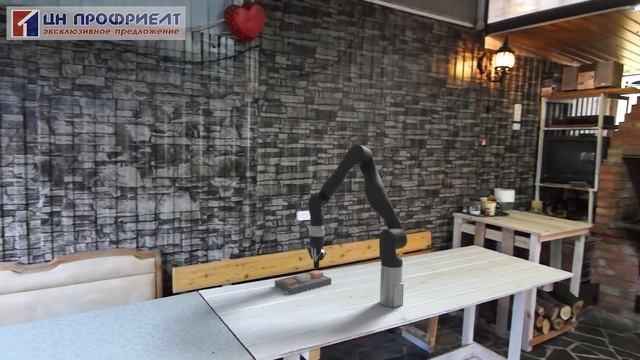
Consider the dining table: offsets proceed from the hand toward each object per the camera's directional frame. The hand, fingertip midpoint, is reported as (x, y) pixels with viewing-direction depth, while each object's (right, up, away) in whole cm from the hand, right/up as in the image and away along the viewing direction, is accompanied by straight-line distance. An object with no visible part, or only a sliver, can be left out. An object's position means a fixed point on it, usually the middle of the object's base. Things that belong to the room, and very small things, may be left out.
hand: (316, 268), depth 206 cm
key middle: (-6, -5, -5) cm, 10 cm away
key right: (0, -5, 0) cm, 5 cm away
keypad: (-6, -7, -5) cm, 11 cm away
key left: (-13, -7, -10) cm, 17 cm away
